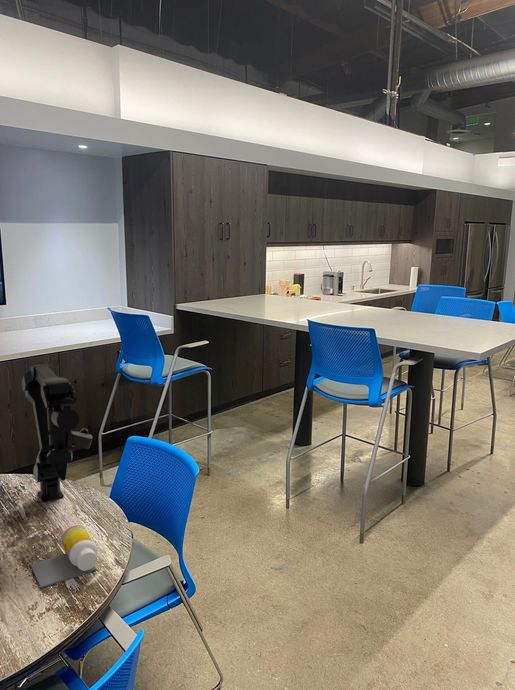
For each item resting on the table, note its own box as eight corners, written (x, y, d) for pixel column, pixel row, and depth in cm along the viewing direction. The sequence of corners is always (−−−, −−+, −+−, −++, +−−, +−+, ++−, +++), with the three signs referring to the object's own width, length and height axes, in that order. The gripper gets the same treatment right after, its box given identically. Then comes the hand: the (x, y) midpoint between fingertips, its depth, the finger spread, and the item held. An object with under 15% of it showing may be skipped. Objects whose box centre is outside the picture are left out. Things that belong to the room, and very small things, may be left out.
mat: (30, 565, 129) (30, 563, 129) (83, 549, 137) (83, 547, 137) (40, 588, 121) (40, 586, 121) (96, 570, 129) (96, 568, 129)
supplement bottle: (55, 534, 134) (68, 560, 123) (79, 518, 136) (93, 542, 126) (68, 552, 136) (81, 580, 126) (91, 536, 139) (105, 562, 128)
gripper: (89, 428, 140) (93, 485, 141) (89, 415, 158) (93, 467, 159) (44, 433, 136) (48, 492, 137) (50, 420, 154) (54, 472, 155)
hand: (63, 480), depth 147 cm, fingers closed
